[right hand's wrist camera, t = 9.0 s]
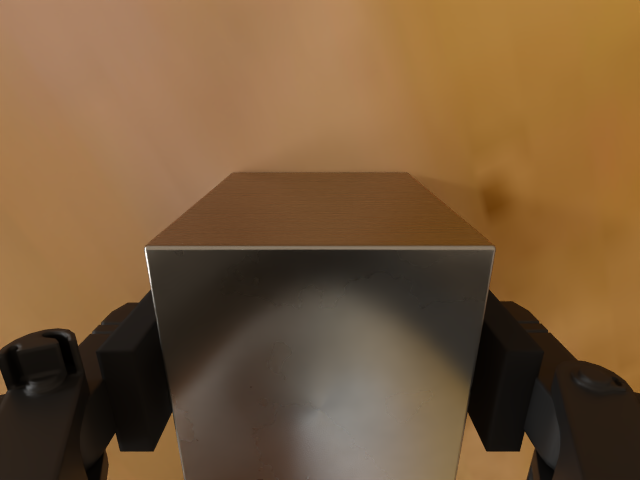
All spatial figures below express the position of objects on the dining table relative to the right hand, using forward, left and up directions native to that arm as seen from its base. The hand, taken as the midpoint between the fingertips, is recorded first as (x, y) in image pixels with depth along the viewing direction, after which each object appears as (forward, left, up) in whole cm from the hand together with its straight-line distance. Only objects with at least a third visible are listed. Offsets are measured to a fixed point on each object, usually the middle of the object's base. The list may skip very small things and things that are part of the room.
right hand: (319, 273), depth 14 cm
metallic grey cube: (0, 0, -1) cm, 1 cm away
